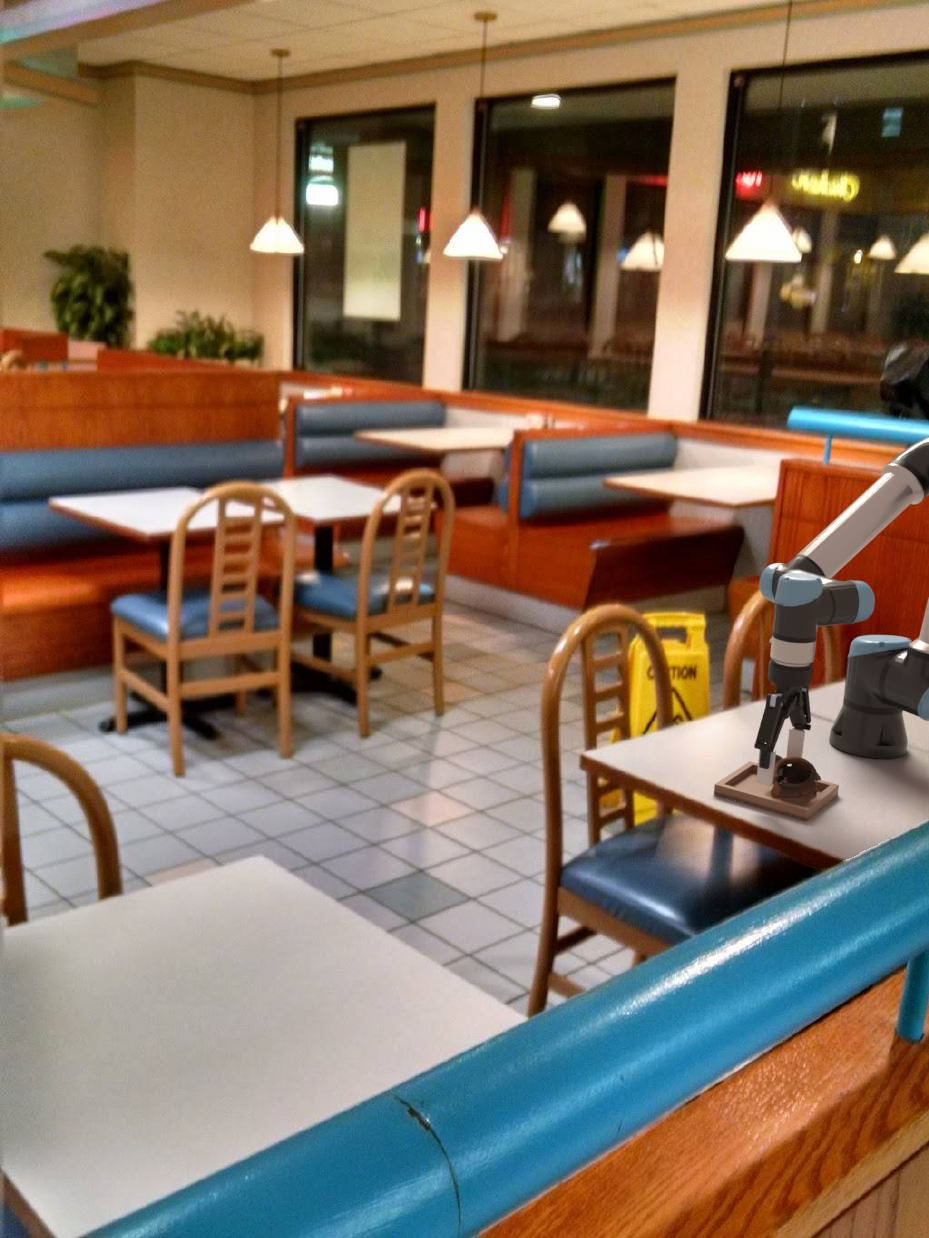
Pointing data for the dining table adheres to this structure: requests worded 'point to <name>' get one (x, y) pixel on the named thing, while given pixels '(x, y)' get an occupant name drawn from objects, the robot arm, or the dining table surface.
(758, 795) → the serving tray
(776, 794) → the pottery mug
